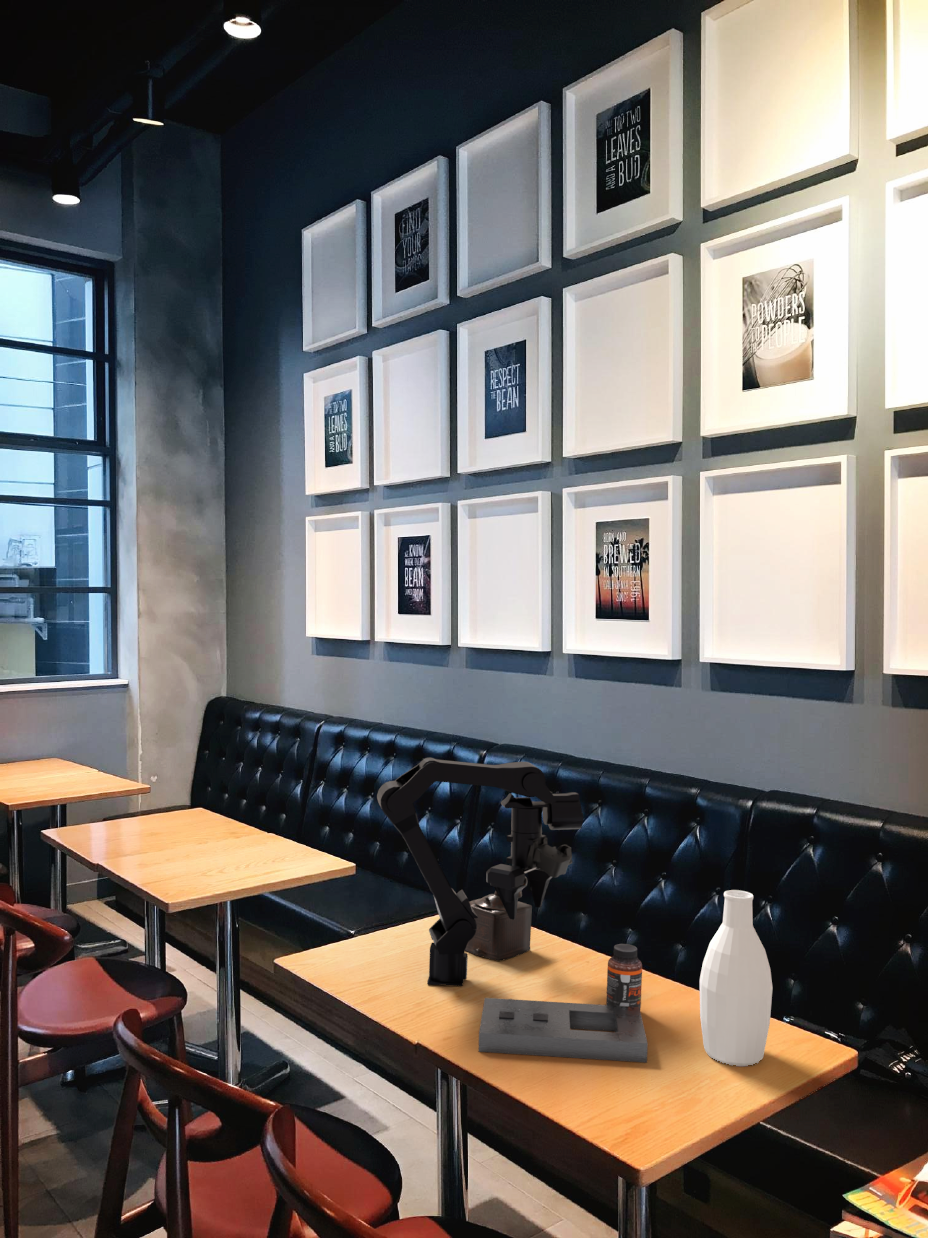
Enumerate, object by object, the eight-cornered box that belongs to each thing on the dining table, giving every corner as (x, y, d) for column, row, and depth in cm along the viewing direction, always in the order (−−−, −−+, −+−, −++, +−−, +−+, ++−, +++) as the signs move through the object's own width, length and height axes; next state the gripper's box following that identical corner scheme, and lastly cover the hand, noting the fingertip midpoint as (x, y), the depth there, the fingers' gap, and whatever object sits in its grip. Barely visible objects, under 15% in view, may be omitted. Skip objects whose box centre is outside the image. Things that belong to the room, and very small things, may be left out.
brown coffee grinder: (457, 950, 203) (459, 861, 202) (493, 937, 211) (495, 852, 211) (515, 971, 192) (518, 877, 192) (551, 957, 200) (554, 867, 200)
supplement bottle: (632, 1022, 170) (634, 956, 169) (600, 1014, 173) (602, 948, 173) (646, 1011, 175) (648, 946, 174) (614, 1003, 178) (616, 939, 178)
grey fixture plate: (478, 1051, 157) (479, 1031, 157) (484, 1015, 171) (484, 996, 171) (646, 1062, 155) (647, 1042, 155) (638, 1025, 169) (639, 1006, 168)
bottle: (767, 1043, 163) (772, 887, 162) (773, 1074, 152) (779, 907, 151) (696, 1035, 165) (701, 881, 165) (698, 1065, 154) (703, 900, 154)
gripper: (537, 846, 176) (536, 934, 177) (588, 827, 192) (587, 909, 192) (485, 837, 183) (484, 922, 183) (537, 820, 198) (536, 898, 198)
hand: (525, 913), depth 189 cm, fingers open, 9 cm apart
